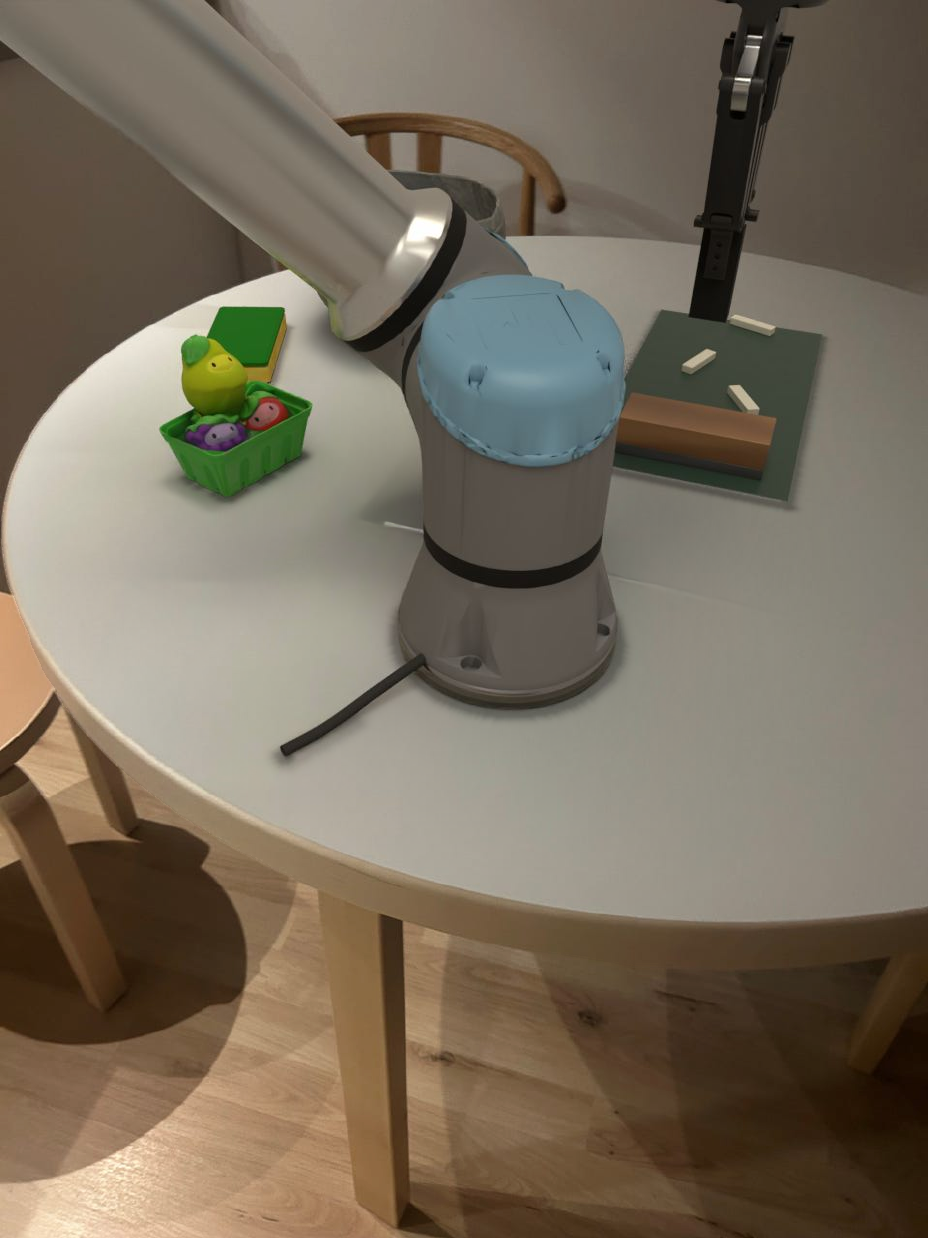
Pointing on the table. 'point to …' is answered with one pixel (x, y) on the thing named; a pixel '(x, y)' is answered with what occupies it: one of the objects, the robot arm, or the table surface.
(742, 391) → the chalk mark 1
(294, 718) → the table surface
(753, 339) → the chalkboard
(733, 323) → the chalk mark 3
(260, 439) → the fruit basket
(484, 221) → the bowl
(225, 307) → the dish sponge
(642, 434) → the board eraser
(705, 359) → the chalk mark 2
